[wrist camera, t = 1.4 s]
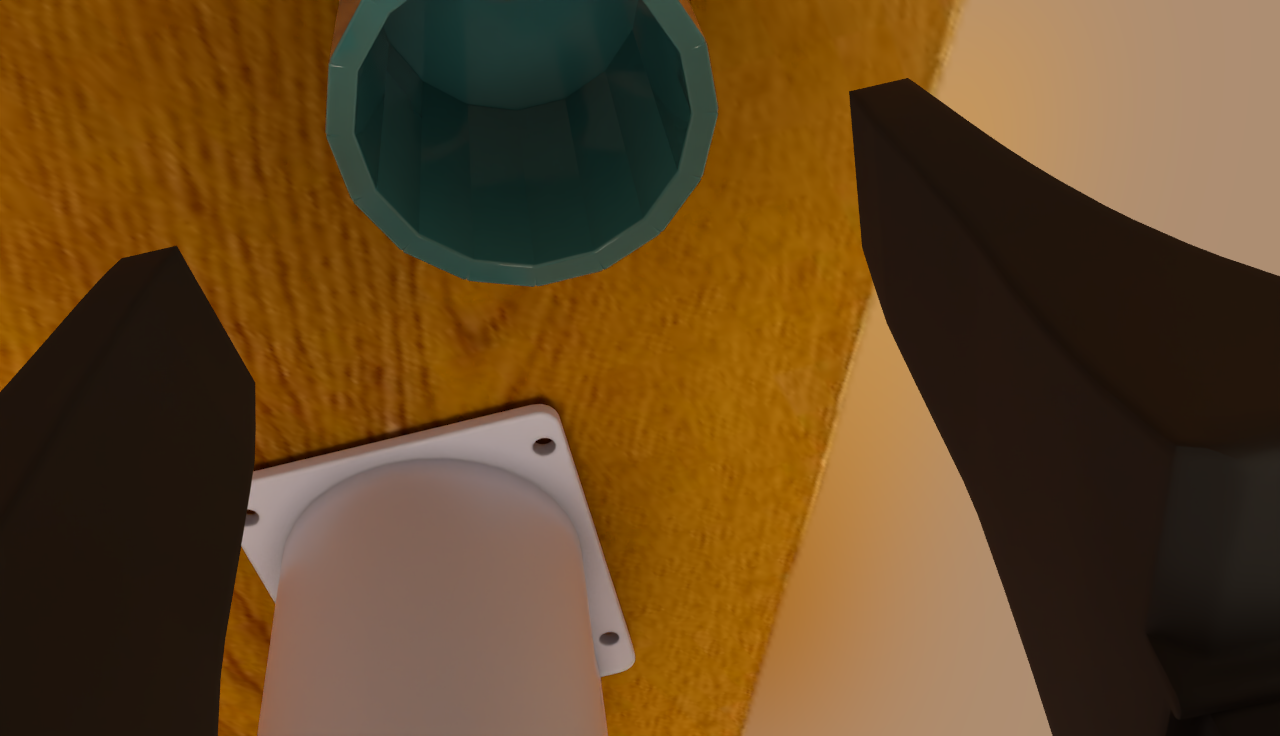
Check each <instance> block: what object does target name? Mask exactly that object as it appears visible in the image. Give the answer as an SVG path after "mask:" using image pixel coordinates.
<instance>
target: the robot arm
mask: <svg viewBox="0 0 1280 736" xmlns="http://www.w3.org/2000/svg"><path fill="white" fill-rule="evenodd" d="M849 95H850V107H851V119H852V131H853V143H854V155H855V167H856V179H857V191H858V203H859V215H860V227H861V239H862V248H863V251H864V255H865V258H866V261H867V264H868V267H869V270H870V273H871V276H872V280H873V283H874V286H875V289H876V292H877V295H878V298H879V301H880V304H881V307H882V310H883V313H884V316H885V319H886V322H887V324H888V326H889V329H890V331H891V333H892V335H893V337H894V339H895V341H896V343H897V346H898V348H899V350H900V352H901V354H902V356H903V358H904V360H905V362H906V364H907V366H908V368H909V371H910V373H911V375H912V377H913V379H914V381H915V383H916V385H917V387H918V389H919V391H920V393H921V395H922V397H923V399H924V401H925V403H926V405H927V407H928V409H929V411H930V414H931V416H932V418H933V420H934V422H935V424H936V426H937V428H938V430H939V432H940V434H941V436H942V438H943V440H944V442H945V444H946V446H947V448H948V450H949V453H950V455H951V457H952V459H953V461H954V463H955V465H956V467H957V469H958V471H959V473H960V475H961V477H962V479H963V481H964V484H965V486H966V488H967V490H968V493H969V495H970V498H971V500H972V502H973V505H974V507H975V509H976V512H977V514H978V517H979V520H980V522H981V525H982V528H983V531H984V534H985V536H986V539H987V542H988V545H989V547H990V550H991V553H992V556H993V559H994V562H995V565H996V567H997V570H998V573H999V576H1000V579H1001V581H1002V584H1003V587H1004V590H1005V593H1006V596H1007V599H1008V602H1009V605H1010V608H1011V611H1012V614H1013V617H1014V620H1015V622H1016V625H1017V628H1018V631H1019V634H1020V637H1021V640H1022V643H1023V646H1024V649H1025V652H1026V654H1027V658H1028V661H1029V664H1030V667H1031V670H1032V673H1033V676H1034V679H1035V682H1036V685H1037V688H1038V691H1039V695H1040V698H1041V701H1042V704H1043V707H1044V710H1045V713H1046V716H1047V719H1048V723H1049V726H1050V729H1051V732H1052V734H1053V736H1280V276H1277V275H1274V274H1271V273H1268V272H1265V271H1262V270H1260V269H1257V268H1254V267H1251V266H1248V265H1245V264H1242V263H1239V262H1236V261H1233V260H1230V259H1227V258H1224V257H1221V256H1219V255H1216V254H1213V253H1211V252H1208V251H1206V250H1203V249H1200V248H1198V247H1195V246H1193V245H1190V244H1188V243H1185V242H1183V241H1181V240H1178V239H1176V238H1174V237H1172V236H1169V235H1167V234H1165V233H1163V232H1160V231H1158V230H1156V229H1153V228H1151V227H1149V226H1146V225H1144V224H1142V223H1140V222H1137V221H1135V220H1133V219H1131V218H1129V217H1127V216H1125V215H1123V214H1121V213H1119V212H1117V211H1115V210H1113V209H1111V208H1109V207H1106V206H1105V205H1103V204H1101V203H1099V202H1097V201H1095V200H1094V199H1092V198H1090V197H1088V196H1086V195H1085V194H1083V193H1081V192H1079V191H1077V190H1075V189H1074V188H1072V187H1070V186H1068V185H1066V184H1065V183H1063V182H1061V181H1059V180H1058V179H1056V178H1054V177H1053V176H1051V175H1049V174H1048V173H1046V172H1044V171H1043V170H1041V169H1039V168H1038V167H1036V166H1034V165H1033V164H1031V163H1030V162H1028V161H1026V160H1025V159H1023V158H1021V157H1020V156H1019V155H1017V154H1015V153H1014V152H1012V151H1011V150H1009V149H1008V148H1006V147H1005V146H1003V145H1002V144H1000V143H999V142H997V141H996V140H994V139H993V138H992V137H990V136H989V135H987V134H986V133H984V132H983V131H981V130H980V129H979V128H977V127H976V126H974V125H973V124H971V123H970V122H969V121H967V120H966V119H964V118H963V117H961V116H960V115H959V114H957V113H956V112H954V111H953V110H952V109H951V108H949V107H948V106H946V105H945V104H944V103H942V102H941V101H939V100H938V99H937V98H935V97H934V96H933V95H931V94H930V93H928V92H927V91H925V90H924V89H923V88H921V87H920V86H918V85H917V84H916V83H914V82H913V81H911V80H910V79H908V78H906V79H902V80H897V81H893V82H889V83H884V84H880V85H876V86H871V87H867V88H863V89H858V90H854V91H849ZM255 428H256V426H255V382H254V380H253V378H252V376H251V375H250V373H249V371H248V369H247V368H246V366H245V364H244V362H243V361H242V359H241V357H240V356H239V354H238V352H237V350H236V349H235V347H234V345H233V343H232V342H231V340H230V338H229V336H228V335H227V333H226V331H225V329H224V328H223V326H222V324H221V322H220V321H219V319H218V317H217V315H216V314H215V312H214V310H213V308H212V307H211V305H210V303H209V301H208V300H207V298H206V296H205V295H204V293H203V291H202V289H201V288H200V286H199V284H198V282H197V281H196V279H195V277H194V275H193V274H192V272H191V270H190V268H189V267H188V265H187V263H186V261H185V260H184V258H183V256H182V254H181V253H180V251H179V249H178V247H177V246H174V247H169V248H165V249H161V250H156V251H152V252H148V253H143V254H139V255H135V256H130V257H126V258H122V259H121V260H119V261H118V262H117V263H116V264H115V265H114V266H113V267H112V268H111V269H110V270H109V271H108V272H107V273H106V274H105V275H104V276H103V277H102V278H101V279H100V280H99V281H98V282H97V283H96V284H95V286H94V287H93V288H92V289H91V290H90V291H89V292H88V293H87V294H86V295H85V297H84V298H83V299H82V300H81V301H80V302H79V303H78V304H77V306H76V307H75V308H74V309H73V310H72V311H71V312H70V314H69V315H68V316H67V317H66V318H65V319H64V320H63V322H62V323H61V324H60V325H59V326H58V327H57V328H56V330H55V331H54V332H53V333H52V334H51V335H50V337H49V338H48V339H47V340H46V341H45V342H44V343H43V344H42V346H41V347H40V348H39V349H38V350H37V351H36V352H35V354H34V355H33V356H32V357H31V358H30V359H29V360H28V362H27V363H26V364H25V365H24V366H23V367H22V368H21V369H20V371H19V372H18V373H17V374H16V375H15V376H14V377H13V379H12V380H11V381H10V382H9V383H8V384H7V385H6V386H5V388H4V389H3V390H2V391H1V392H0V736H218V718H219V698H220V679H221V669H222V661H223V653H224V644H225V637H226V631H227V625H228V619H229V613H230V608H231V602H232V596H233V590H234V584H235V579H236V573H237V567H238V561H239V555H240V550H241V546H242V548H243V550H244V551H245V553H246V555H247V557H248V558H249V560H250V562H251V563H252V565H253V567H254V568H255V570H256V572H257V573H258V575H259V577H260V578H261V580H262V582H263V584H264V585H265V587H266V589H267V590H268V592H269V594H270V595H271V597H272V599H273V600H274V602H275V604H276V605H275V612H274V619H273V626H272V633H271V641H270V648H269V655H268V662H267V669H266V676H265V684H264V691H263V698H262V705H261V712H260V719H259V726H258V734H257V736H608V732H607V724H606V716H605V708H604V701H603V693H602V685H601V677H603V676H607V675H611V674H615V673H620V672H623V671H625V670H627V669H629V668H630V667H631V666H632V665H633V664H634V662H635V653H634V647H633V644H632V641H631V638H630V635H629V632H628V629H627V625H626V622H625V619H624V616H623V613H622V610H621V607H620V604H619V601H618V597H617V594H616V591H615V588H614V585H613V582H612V579H611V576H610V572H609V569H608V566H607V563H606V560H605V557H604V554H603V551H602V548H601V544H600V541H599V538H598V535H597V532H596V529H595V526H594V523H593V520H592V516H591V513H590V510H589V507H588V504H587V501H586V498H585V495H584V492H583V488H582V485H581V482H580V479H579V476H578V473H577V470H576V467H575V463H574V460H573V457H572V454H571V451H570V448H569V445H568V442H567V439H566V435H565V432H564V429H563V426H562V423H561V420H560V417H559V415H558V413H557V411H556V410H555V409H553V408H552V407H550V406H548V405H544V404H533V405H528V406H524V407H520V408H516V409H512V410H508V411H503V412H499V413H495V414H491V415H487V416H483V417H478V418H474V419H470V420H466V421H462V422H457V423H453V424H449V425H445V426H441V427H437V428H432V429H428V430H424V431H420V432H416V433H412V434H407V435H403V436H399V437H395V438H391V439H387V440H382V441H378V442H374V443H370V444H366V445H362V446H357V447H353V448H349V449H345V450H341V451H337V452H332V453H328V454H324V455H320V456H316V457H312V458H307V459H303V460H299V461H295V462H291V463H287V464H282V465H278V466H274V467H270V468H266V469H262V470H257V471H253V469H254V461H255ZM541 438H549V439H551V440H552V441H551V442H549V443H547V444H538V443H536V442H535V441H536V440H539V439H541ZM247 509H249V510H252V511H255V512H256V513H255V514H247ZM607 632H612V633H609V634H604V633H607Z"/></svg>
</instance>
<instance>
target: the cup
mask: <svg viewBox="0 0 1280 736" xmlns="http://www.w3.org/2000/svg"><path fill="white" fill-rule="evenodd" d="M717 117H718V102H717V96H716V90H715V85H714V79H713V73H712V67H711V62H710V56H709V50H708V45H707V42H706V40H705V37H704V35H703V32H702V30H701V28H700V25H699V23H698V21H697V19H696V16H695V14H694V12H693V9H692V7H691V5H690V2H689V0H340V1H339V6H338V12H337V18H336V23H335V29H334V35H333V40H332V46H331V52H330V58H329V63H328V80H327V102H326V123H325V132H326V134H327V135H326V138H327V141H328V143H329V146H330V148H331V151H332V153H333V156H334V158H335V161H336V163H337V166H338V168H339V171H340V173H341V175H342V178H343V180H344V183H345V185H346V188H347V190H348V193H349V195H350V198H351V199H352V200H353V202H354V204H355V205H356V206H357V207H358V208H359V209H360V210H361V211H362V212H363V213H364V214H365V215H366V216H367V217H368V218H369V219H370V220H371V221H372V222H373V223H374V224H375V225H376V226H377V227H378V228H379V229H380V230H381V231H382V232H383V233H384V234H385V235H386V236H387V237H388V238H389V239H390V240H391V241H392V242H393V243H394V244H395V245H396V246H397V247H398V248H399V249H400V250H403V252H405V253H407V254H409V255H411V256H413V257H415V258H418V259H420V260H422V261H424V262H426V263H428V264H431V265H433V266H435V267H437V268H439V269H442V270H444V271H446V272H448V273H450V274H453V275H455V276H457V277H459V278H461V279H467V280H468V281H476V282H487V283H498V284H509V285H520V286H531V287H534V286H535V285H537V286H542V285H546V284H550V283H554V282H559V281H563V280H567V279H571V278H575V277H579V276H583V275H588V274H592V273H596V272H600V271H602V270H603V269H607V268H609V267H610V266H612V265H613V264H615V263H616V262H618V261H619V260H621V259H622V258H624V257H626V256H627V255H629V254H630V253H632V252H633V251H635V250H636V249H638V248H639V247H641V246H643V245H644V244H646V243H647V242H649V241H650V240H652V239H653V238H655V237H656V236H658V235H659V234H660V232H662V231H663V230H664V229H665V228H666V226H667V225H668V224H669V222H670V221H671V220H672V218H673V217H674V216H675V214H676V213H677V212H678V210H679V209H680V207H681V206H682V205H683V203H684V202H685V201H686V199H687V198H688V197H689V195H690V194H691V193H692V191H693V190H694V189H695V187H696V186H697V184H698V183H699V182H700V180H701V177H702V176H703V173H704V169H705V165H706V161H707V157H708V153H709V149H710V145H711V141H712V137H713V133H714V129H715V125H716V121H717Z"/></svg>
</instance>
